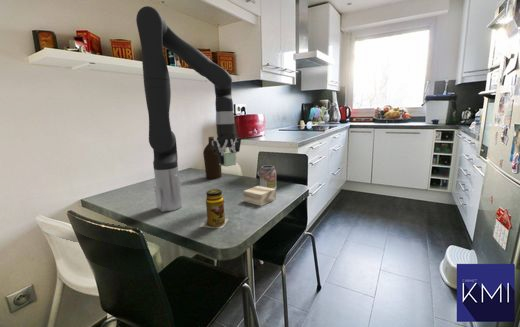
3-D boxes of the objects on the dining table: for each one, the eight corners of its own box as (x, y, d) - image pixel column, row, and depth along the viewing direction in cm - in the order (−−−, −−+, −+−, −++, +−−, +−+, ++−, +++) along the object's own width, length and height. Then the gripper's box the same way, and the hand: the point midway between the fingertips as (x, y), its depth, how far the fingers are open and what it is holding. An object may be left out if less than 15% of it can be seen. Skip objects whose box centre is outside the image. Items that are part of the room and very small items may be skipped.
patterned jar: (264, 194, 118) (263, 169, 115) (255, 190, 124) (254, 166, 122) (279, 190, 122) (279, 166, 120) (270, 186, 129) (269, 164, 127)
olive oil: (220, 179, 148) (217, 137, 143) (203, 179, 149) (199, 137, 144) (224, 175, 158) (221, 135, 153) (208, 175, 159) (205, 136, 154)
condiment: (222, 228, 84) (220, 194, 81) (198, 227, 85) (195, 194, 83) (228, 219, 91) (226, 188, 88) (206, 218, 92) (204, 187, 90)
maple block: (261, 206, 103) (261, 195, 102) (244, 201, 109) (243, 190, 108) (275, 199, 110) (275, 189, 109) (258, 195, 117) (258, 185, 116)
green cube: (226, 166, 102) (225, 154, 101) (219, 165, 106) (218, 153, 105) (236, 164, 105) (235, 153, 104) (229, 163, 109) (228, 151, 108)
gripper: (215, 123, 95) (218, 167, 98) (244, 122, 104) (246, 161, 107) (205, 123, 100) (208, 165, 103) (234, 122, 109) (236, 159, 113)
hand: (227, 163), depth 105 cm, fingers closed on green cube, 5 cm apart
